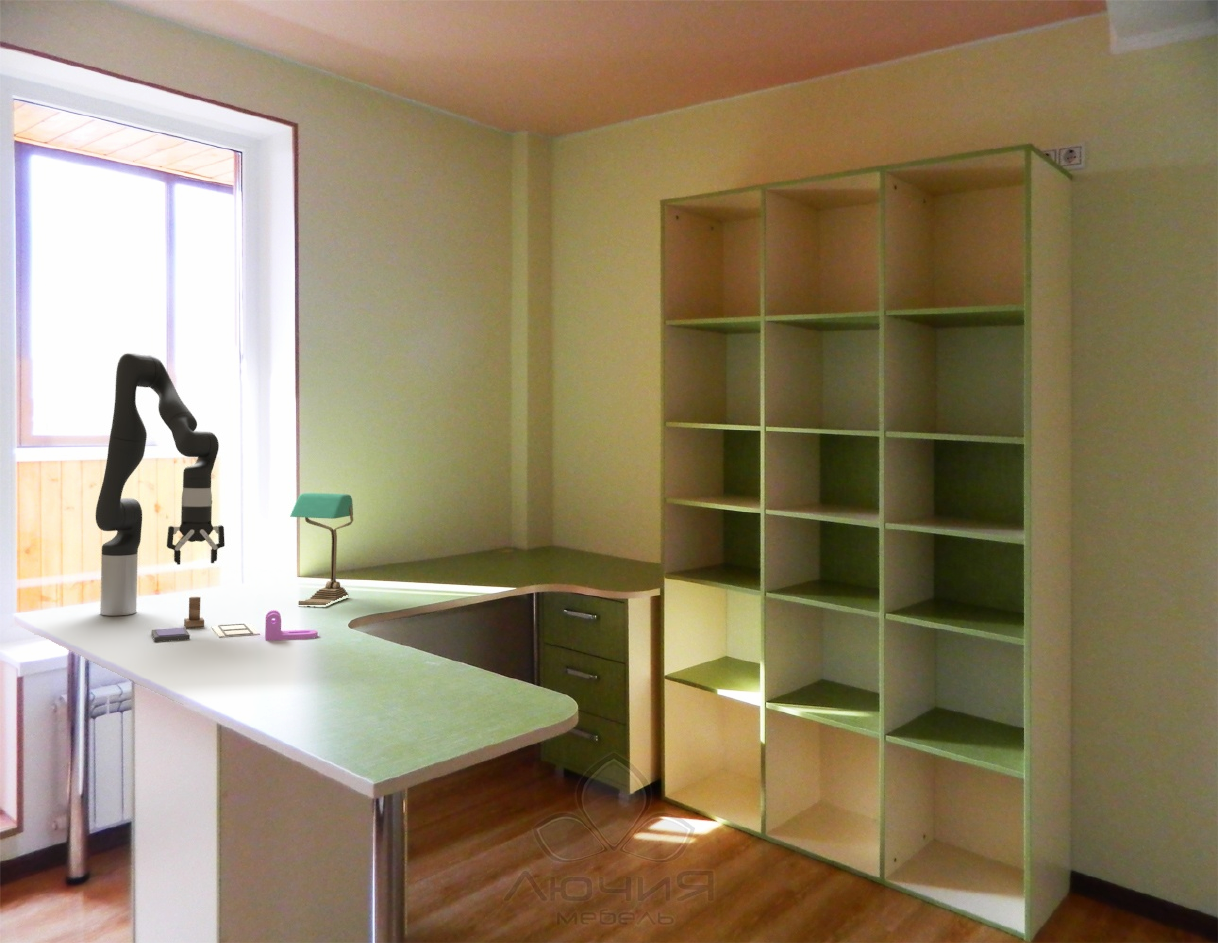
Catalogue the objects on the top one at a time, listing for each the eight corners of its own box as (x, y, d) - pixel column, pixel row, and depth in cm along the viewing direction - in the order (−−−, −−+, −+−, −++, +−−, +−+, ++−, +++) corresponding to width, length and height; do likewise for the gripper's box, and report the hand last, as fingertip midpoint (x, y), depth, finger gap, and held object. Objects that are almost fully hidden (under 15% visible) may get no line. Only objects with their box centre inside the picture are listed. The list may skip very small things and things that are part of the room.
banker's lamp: (359, 598, 303) (362, 493, 303) (334, 609, 283) (337, 496, 282) (313, 596, 305) (316, 491, 304) (285, 606, 284) (288, 494, 283)
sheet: (211, 627, 250) (211, 625, 250) (250, 624, 255) (250, 623, 255) (219, 637, 238) (219, 635, 238) (259, 634, 243) (259, 632, 243)
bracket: (265, 641, 237) (266, 614, 236) (265, 636, 242) (265, 610, 242) (318, 638, 241) (318, 612, 241) (316, 634, 246) (317, 608, 246)
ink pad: (151, 634, 239) (151, 628, 239) (185, 632, 243) (185, 626, 243) (154, 641, 230) (155, 636, 230) (189, 639, 234) (189, 634, 234)
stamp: (184, 625, 251) (184, 596, 251) (201, 624, 254) (202, 595, 253) (186, 628, 247) (186, 599, 247) (204, 627, 250) (204, 598, 250)
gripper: (222, 503, 256) (221, 561, 257) (166, 503, 249) (165, 563, 250) (226, 505, 250) (225, 564, 250) (169, 505, 243) (168, 566, 243)
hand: (195, 563), depth 250 cm, fingers open, 8 cm apart
